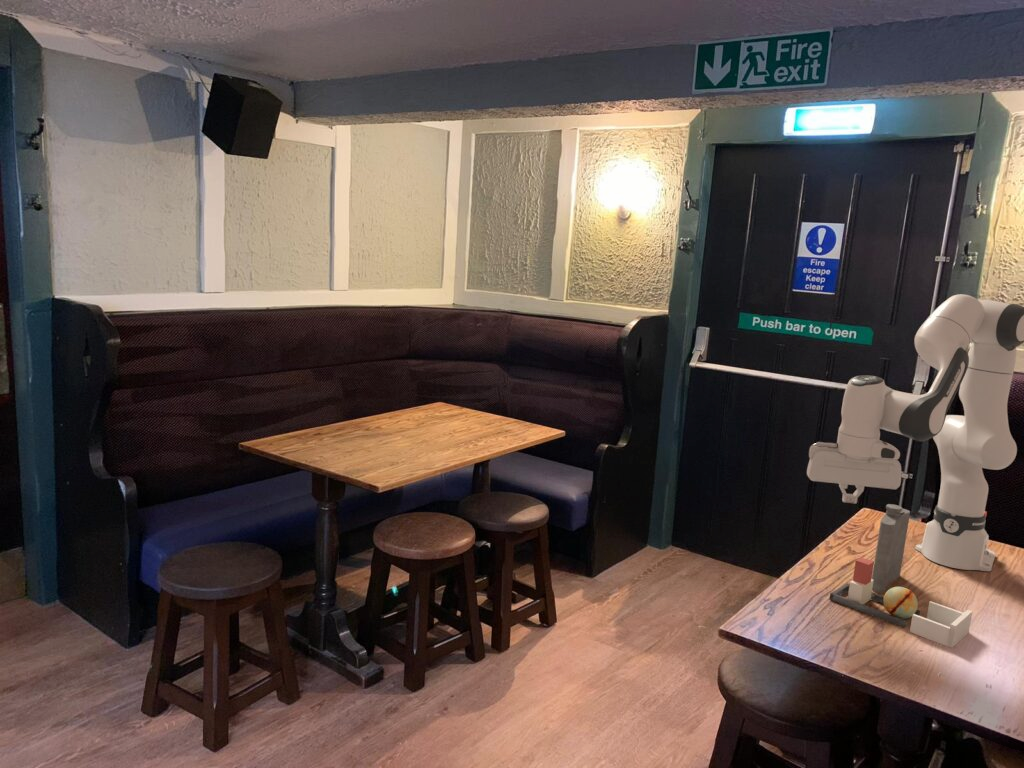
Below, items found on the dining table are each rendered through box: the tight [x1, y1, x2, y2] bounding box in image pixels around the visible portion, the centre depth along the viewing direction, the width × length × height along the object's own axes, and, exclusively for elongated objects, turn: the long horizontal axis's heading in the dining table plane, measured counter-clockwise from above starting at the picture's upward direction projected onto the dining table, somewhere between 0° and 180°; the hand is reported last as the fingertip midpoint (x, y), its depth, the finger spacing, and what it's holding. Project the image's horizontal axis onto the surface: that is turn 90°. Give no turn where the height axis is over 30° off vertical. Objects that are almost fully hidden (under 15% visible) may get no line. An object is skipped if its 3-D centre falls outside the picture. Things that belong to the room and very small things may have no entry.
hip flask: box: [871, 503, 911, 594], centre depth 194 cm, size 16×4×20 cm, turn 138°
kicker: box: [847, 556, 875, 605], centre depth 182 cm, size 6×3×10 cm, turn 133°
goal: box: [909, 600, 973, 649], centre depth 170 cm, size 11×8×5 cm
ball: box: [883, 586, 919, 620], centre depth 176 cm, size 7×7×7 cm
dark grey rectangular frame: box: [829, 583, 922, 629], centre depth 181 cm, size 9×17×2 cm, turn 43°
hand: (849, 502), depth 183 cm, fingers closed
